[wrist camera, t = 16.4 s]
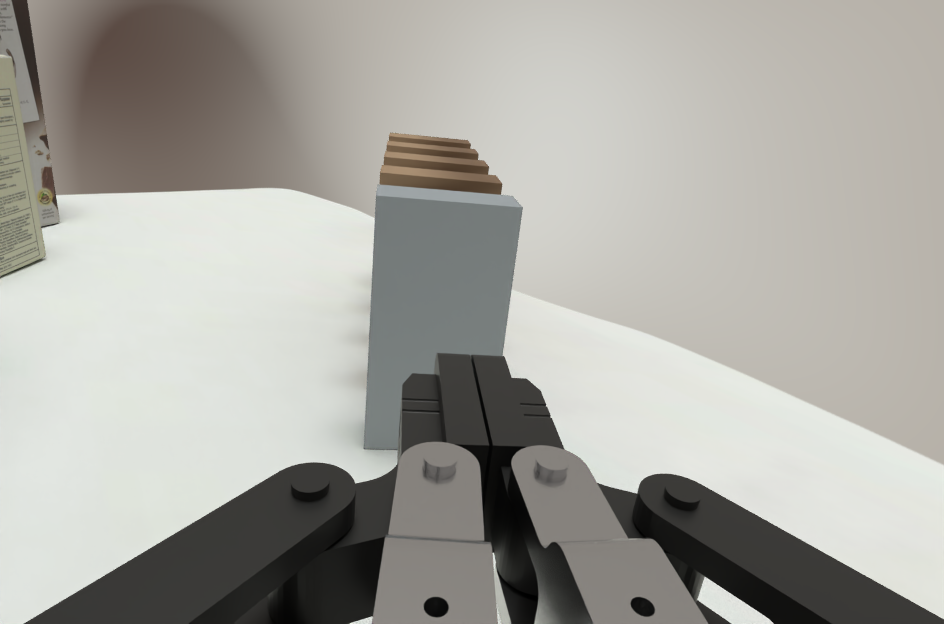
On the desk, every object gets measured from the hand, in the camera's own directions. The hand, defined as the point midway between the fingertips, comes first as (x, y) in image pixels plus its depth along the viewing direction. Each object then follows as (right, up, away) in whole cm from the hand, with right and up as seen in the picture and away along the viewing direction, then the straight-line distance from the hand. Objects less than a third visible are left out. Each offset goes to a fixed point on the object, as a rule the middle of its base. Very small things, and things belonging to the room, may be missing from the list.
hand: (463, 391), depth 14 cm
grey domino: (-2, -3, +12) cm, 12 cm away
